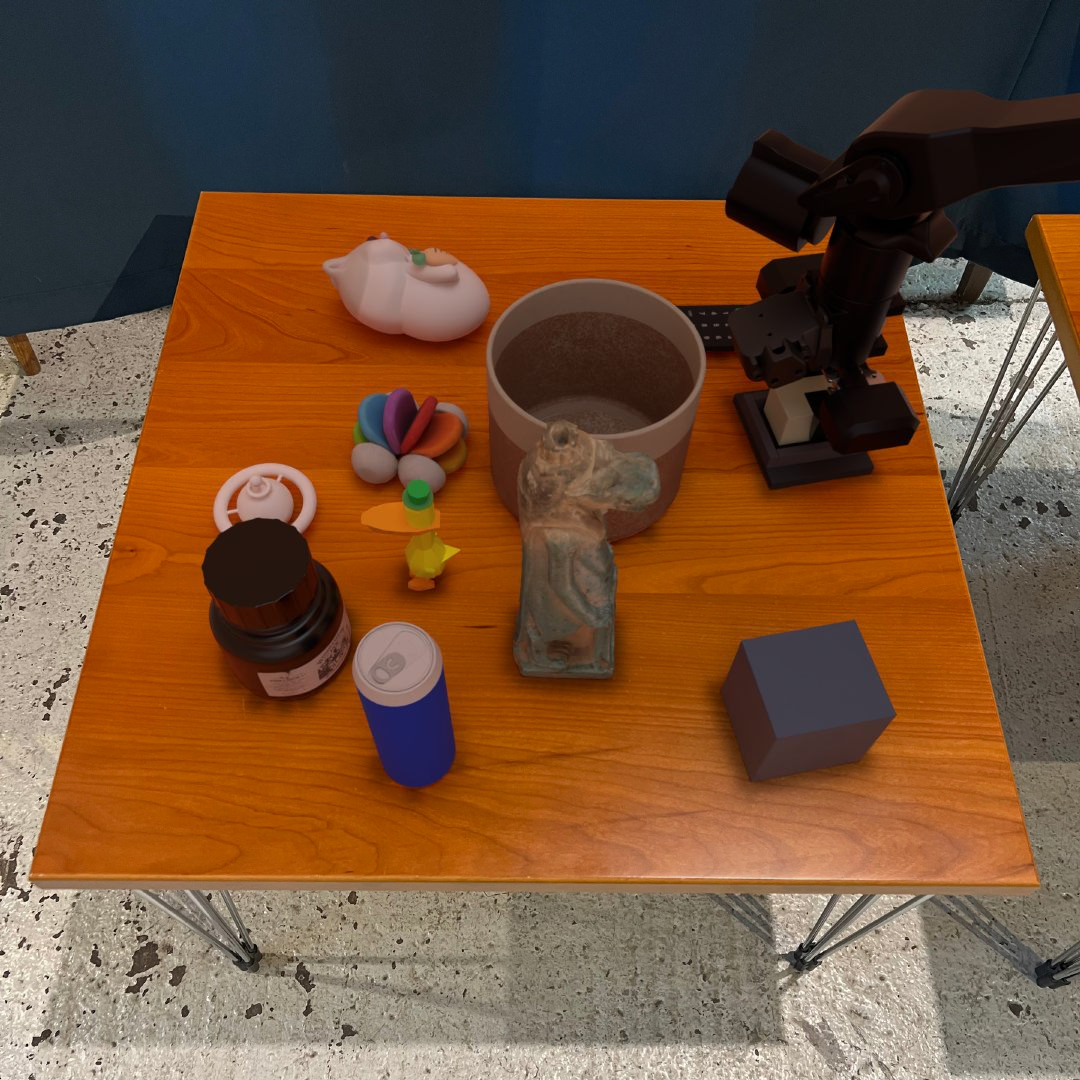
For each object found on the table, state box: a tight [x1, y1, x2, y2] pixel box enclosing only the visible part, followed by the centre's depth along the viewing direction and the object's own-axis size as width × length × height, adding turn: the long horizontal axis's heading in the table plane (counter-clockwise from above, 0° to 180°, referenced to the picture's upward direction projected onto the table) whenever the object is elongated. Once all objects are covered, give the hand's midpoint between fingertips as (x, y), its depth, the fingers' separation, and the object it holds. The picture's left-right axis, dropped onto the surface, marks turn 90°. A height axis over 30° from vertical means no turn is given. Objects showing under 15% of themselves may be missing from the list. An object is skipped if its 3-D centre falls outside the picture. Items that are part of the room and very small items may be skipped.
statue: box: [512, 420, 661, 680], centre depth 62 cm, size 7×8×25 cm
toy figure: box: [360, 479, 461, 592], centre depth 70 cm, size 7×4×12 cm, turn 91°
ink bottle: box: [201, 517, 353, 701], centre depth 67 cm, size 10×9×12 cm
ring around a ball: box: [212, 462, 318, 535], centre depth 76 cm, size 8×6×8 cm
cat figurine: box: [321, 231, 491, 343], centre depth 87 cm, size 10×8×15 cm
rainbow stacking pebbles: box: [350, 387, 470, 494], centre depth 79 cm, size 8×10×7 cm
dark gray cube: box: [720, 619, 897, 783], centre depth 66 cm, size 8×7×8 cm
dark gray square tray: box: [732, 388, 875, 491], centre depth 83 cm, size 9×10×2 cm
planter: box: [485, 277, 707, 543], centre depth 75 cm, size 16×16×14 cm
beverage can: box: [351, 621, 456, 788], centre depth 61 cm, size 5×5×15 cm
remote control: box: [675, 303, 751, 353], centre depth 89 cm, size 5×24×1 cm, turn 92°
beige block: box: [764, 375, 833, 445], centre depth 81 cm, size 6×4×4 cm, turn 102°
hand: (806, 419), depth 82 cm, fingers closed on beige block, 4 cm apart
